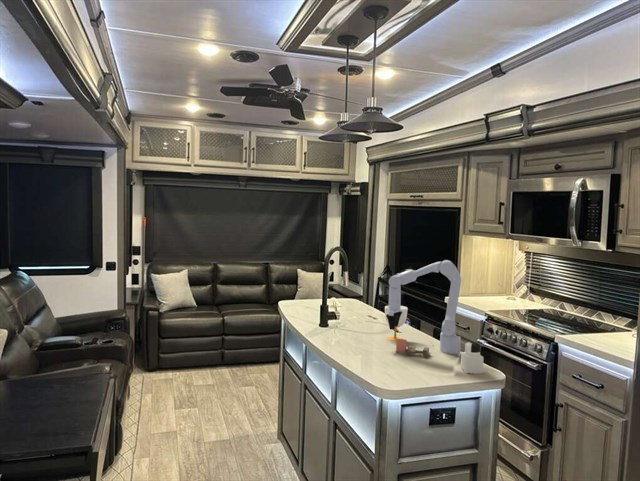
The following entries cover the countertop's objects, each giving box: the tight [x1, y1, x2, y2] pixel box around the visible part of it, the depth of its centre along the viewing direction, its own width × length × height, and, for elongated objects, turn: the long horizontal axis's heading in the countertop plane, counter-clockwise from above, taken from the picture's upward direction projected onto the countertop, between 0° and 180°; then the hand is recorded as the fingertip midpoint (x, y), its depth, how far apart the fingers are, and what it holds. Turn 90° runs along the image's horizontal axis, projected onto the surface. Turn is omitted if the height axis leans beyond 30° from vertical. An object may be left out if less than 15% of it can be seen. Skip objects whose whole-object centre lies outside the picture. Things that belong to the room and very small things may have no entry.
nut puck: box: [406, 345, 416, 353], centre depth 217 cm, size 4×4×3 cm
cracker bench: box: [394, 347, 431, 360], centre depth 217 cm, size 15×11×4 cm
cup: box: [384, 304, 409, 342], centre depth 246 cm, size 12×12×17 cm
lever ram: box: [395, 338, 408, 353], centre depth 219 cm, size 4×4×6 cm
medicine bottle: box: [460, 341, 484, 375], centre depth 198 cm, size 7×7×12 cm
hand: (393, 327), depth 230 cm, fingers open, 7 cm apart
